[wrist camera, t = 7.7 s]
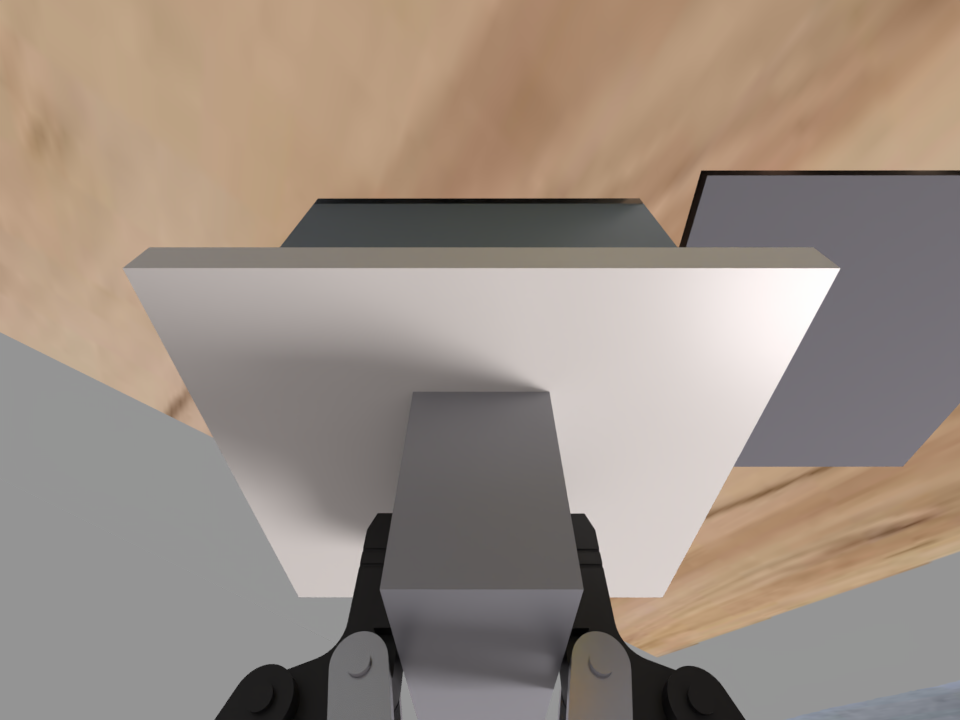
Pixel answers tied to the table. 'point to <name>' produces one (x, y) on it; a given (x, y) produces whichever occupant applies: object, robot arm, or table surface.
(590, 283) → the lid
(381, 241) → the grey storage bin
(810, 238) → the mat
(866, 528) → the table surface
